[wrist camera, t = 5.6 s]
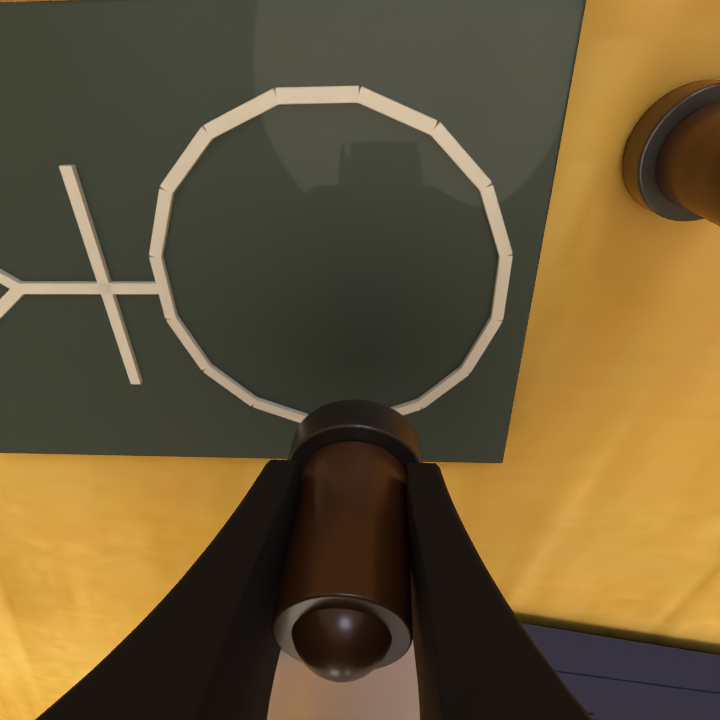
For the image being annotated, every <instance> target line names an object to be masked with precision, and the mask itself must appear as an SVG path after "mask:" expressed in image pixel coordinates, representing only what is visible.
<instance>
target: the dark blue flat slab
mask: <svg viewBox="0 0 720 720" xmlns="http://www.w3.org/2000/svg"><path fill="white" fill-rule="evenodd" d="M521 625H522V626H523V627H524V629H525V630H526V632H527V633H528V635H529V636H530V638H531V639H532V641H533V642H534V644H535V645H536V646H537V648H538V649H539V650H540V652H541V653H542V655H543V656H544V657H545V659H546V660H547V661H548V663H549V664H550V666H551V667H552V668H553V670H554V671H555V672H556V674H557V675H558V676H559V678H560V679H561V680H562V681H563V683H564V684H565V685H566V687H567V688H568V689H569V690H570V692H571V693H572V694H573V695H574V697H575V698H576V699H577V700H578V702H579V703H580V704H581V705H582V707H583V708H584V709H585V710H586V712H587V713H588V714H589V715H590V717H591V718H592V719H593V720H720V655H715V654H709V653H703V652H697V651H690V650H684V649H678V648H672V647H666V646H660V645H654V644H647V643H641V642H635V641H629V640H623V639H617V638H610V637H604V636H598V635H592V634H586V633H580V632H574V631H567V630H561V629H555V628H549V627H543V626H537V625H530V624H524V623H521Z"/></svg>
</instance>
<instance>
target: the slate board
mask: <svg viewBox="0 0 720 720" xmlns="http://www.w3.org/2000/svg"><path fill="white" fill-rule="evenodd" d="M585 4H586V0H64V1H35V2H5V3H0V453H33V454H81V455H130V456H179V457H227V458H276V459H288V458H289V454H290V450H291V446H292V442H293V438H294V435H295V432H296V430H297V428H298V426H299V425H300V423H301V422H302V421H303V420H304V419H305V418H306V417H307V416H308V415H309V414H310V413H311V412H313V411H314V410H316V409H317V408H319V407H321V406H323V405H326V404H328V403H332V402H335V401H340V400H348V399H360V400H368V401H374V402H377V403H381V404H383V405H386V406H388V407H390V408H392V409H394V410H396V411H397V412H399V413H400V414H402V415H403V416H404V417H405V418H406V419H407V420H408V421H409V422H410V423H411V424H412V425H413V427H414V428H415V430H416V431H417V433H418V435H419V438H420V441H421V445H422V455H423V462H470V463H502V462H503V457H504V451H505V446H506V440H507V435H508V429H509V424H510V418H511V413H512V407H513V401H514V396H515V390H516V385H517V379H518V374H519V368H520V363H521V357H522V352H523V346H524V341H525V335H526V330H527V324H528V319H529V313H530V308H531V302H532V297H533V291H534V286H535V280H536V275H537V269H538V264H539V258H540V252H541V247H542V241H543V236H544V230H545V225H546V219H547V214H548V208H549V203H550V197H551V192H552V186H553V181H554V175H555V170H556V164H557V159H558V153H559V148H560V142H561V137H562V131H563V126H564V120H565V114H566V109H567V103H568V98H569V92H570V87H571V81H572V76H573V70H574V65H575V59H576V54H577V48H578V43H579V37H580V32H581V26H582V21H583V15H584V10H585Z"/></svg>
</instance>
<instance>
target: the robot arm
mask: <svg viewBox="0 0 720 720" xmlns="http://www.w3.org/2000/svg"><path fill="white" fill-rule="evenodd" d="M300 484H301V481H300V472H299V464H298V460H270V461H269V462H268V463H267V464H266V465H265V467H264V468H263V470H262V472H261V473H260V475H259V476H258V478H257V479H256V481H255V482H254V484H253V486H252V487H251V489H250V490H249V491H248V493H247V494H246V496H245V497H244V499H243V500H242V502H241V503H240V504H239V506H238V507H237V509H236V510H235V512H234V513H233V514H232V516H231V517H230V518H229V520H228V521H227V522H226V524H225V525H224V526H223V528H222V529H221V530H220V532H219V533H218V534H217V536H216V537H215V538H214V540H213V541H212V542H211V543H210V545H209V546H208V547H207V548H206V550H205V551H204V552H203V553H202V554H201V556H200V557H199V558H198V559H197V561H196V562H195V563H194V564H193V565H192V567H191V568H190V569H189V570H188V571H187V573H186V574H185V575H184V576H183V577H182V579H181V580H180V581H179V582H178V583H177V584H176V585H175V587H174V588H173V589H172V590H171V591H170V592H169V593H168V594H167V595H166V597H165V598H164V599H163V600H162V601H161V602H160V603H159V604H158V605H157V606H156V607H155V608H154V609H153V611H152V612H151V613H150V614H149V615H148V616H147V617H146V618H145V619H144V620H143V621H142V622H141V623H140V624H139V625H138V626H137V627H136V628H135V629H134V630H133V631H132V632H131V633H130V634H129V635H128V636H127V637H126V638H125V639H124V640H123V641H122V642H121V643H120V644H119V645H118V646H117V647H116V648H115V649H114V650H113V651H112V652H111V653H110V654H109V655H108V656H107V657H106V658H104V659H103V660H102V661H101V662H100V663H99V664H98V665H97V666H96V667H95V668H94V669H93V670H92V671H91V672H89V673H88V674H87V675H86V676H85V677H84V678H83V679H82V680H81V681H79V682H78V683H77V684H76V685H75V686H74V687H73V688H71V689H70V690H69V691H68V692H67V693H66V694H64V695H63V696H62V697H61V698H60V699H59V700H58V701H56V702H55V703H54V704H53V705H52V706H51V707H49V708H48V709H47V710H46V711H45V712H44V713H43V714H41V715H40V716H39V717H38V718H37V719H36V720H593V719H592V718H591V717H590V715H589V714H588V713H587V712H586V710H585V709H584V708H583V707H582V705H581V704H580V703H579V702H578V700H577V699H576V698H575V697H574V695H573V694H572V693H571V692H570V690H569V689H568V688H567V687H566V685H565V684H564V683H563V681H562V680H561V679H560V678H559V676H558V675H557V674H556V672H555V671H554V670H553V668H552V667H551V666H550V664H549V663H548V661H547V660H546V659H545V657H544V656H543V655H542V653H541V652H540V650H539V649H538V648H537V646H536V645H535V644H534V642H533V641H532V639H531V638H530V636H529V635H528V633H527V632H526V630H525V629H524V627H523V626H522V625H521V623H520V622H519V620H518V619H517V617H516V616H515V614H514V613H513V611H512V610H511V608H510V606H509V605H508V603H507V602H506V600H505V598H504V597H503V595H502V594H501V592H500V590H499V589H498V587H497V585H496V584H495V582H494V580H493V579H492V577H491V575H490V574H489V572H488V570H487V569H486V567H485V565H484V563H483V562H482V560H481V558H480V556H479V554H478V552H477V551H476V549H475V547H474V545H473V543H472V541H471V539H470V537H469V535H468V533H467V531H466V530H465V528H464V526H463V524H462V521H461V519H460V517H459V515H458V513H457V511H456V509H455V506H454V504H453V502H452V500H451V497H450V495H449V492H448V490H447V487H446V485H445V482H444V479H443V476H442V473H441V470H440V467H439V466H438V465H436V464H435V463H407V473H406V498H407V523H408V533H409V548H410V572H411V597H412V621H413V640H412V644H411V646H410V648H409V650H408V651H407V653H406V654H405V655H404V656H403V657H402V658H400V659H399V660H398V661H396V662H394V663H392V664H390V665H388V666H385V667H382V668H379V669H375V670H373V671H372V672H371V673H369V674H368V675H367V676H365V677H363V678H360V679H358V680H355V681H351V682H332V681H329V680H326V679H323V678H321V677H319V676H317V675H316V674H314V673H313V672H312V671H311V670H309V669H308V668H307V666H306V665H305V664H304V663H302V662H300V661H297V660H296V659H294V658H292V657H291V656H289V655H288V654H286V653H285V652H284V651H283V650H282V649H281V648H280V647H279V646H278V645H277V643H276V642H275V640H274V638H273V635H272V630H271V623H272V617H273V613H274V608H275V603H276V598H277V594H278V589H279V584H280V579H281V575H282V570H283V565H284V560H285V556H286V551H287V546H288V541H289V537H290V532H291V527H292V522H293V517H294V513H295V508H296V503H297V498H298V494H299V489H300Z"/></svg>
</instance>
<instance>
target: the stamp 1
mask: <svg viewBox="0 0 720 720" xmlns="http://www.w3.org/2000/svg"><path fill="white" fill-rule="evenodd" d="M288 460H298V464H299V472H300V481H301V484H300V489H299V494H298V498H297V503H296V508H295V513H294V517H293V522H292V527H291V532H290V537H289V541H288V546H287V551H286V556H285V560H284V565H283V570H282V575H281V579H280V584H279V589H278V594H277V598H276V603H275V608H274V613H273V617H272V623H271V630H272V635H273V638H274V640H275V642H276V643H277V645H278V646H279V647H280V648H281V649H282V650H283V651H284V652H285V653H286V654H288V655H289V656H291V657H292V658H294V659H296V660H297V661H300V662H302V663H304V664H305V665H306V666H307V668H308V669H309V670H311V671H312V672H313V673H314V674H316V675H317V676H319V677H321V678H323V679H326V680H329V681H332V682H351V681H355V680H358V679H360V678H363V677H365V676H367V675H368V674H369V673H371V672H372V671H373V670H375V669H379V668H382V667H385V666H388V665H390V664H392V663H394V662H396V661H398V660H399V659H400V658H402V657H403V656H404V655H405V654H406V653H407V651H408V650H409V648H410V646H411V644H412V640H413V621H412V597H411V572H410V548H409V533H408V523H407V498H406V473H407V463H423V455H422V445H421V441H420V438H419V435H418V433H417V431H416V430H415V428H414V427H413V425H412V424H411V423H410V422H409V421H408V420H407V419H406V418H405V417H404V416H403V415H402V414H400V413H399V412H397V411H396V410H394V409H392V408H390V407H388V406H386V405H383V404H381V403H377V402H374V401H368V400H360V399H348V400H340V401H335V402H332V403H328V404H326V405H323V406H321V407H319V408H317V409H316V410H314V411H313V412H311V413H310V414H309V415H308V416H307V417H306V418H305V419H304V420H303V421H302V422H301V423H300V425H299V426H298V428H297V430H296V432H295V435H294V438H293V442H292V446H291V450H290V454H289V458H288Z"/></svg>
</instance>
